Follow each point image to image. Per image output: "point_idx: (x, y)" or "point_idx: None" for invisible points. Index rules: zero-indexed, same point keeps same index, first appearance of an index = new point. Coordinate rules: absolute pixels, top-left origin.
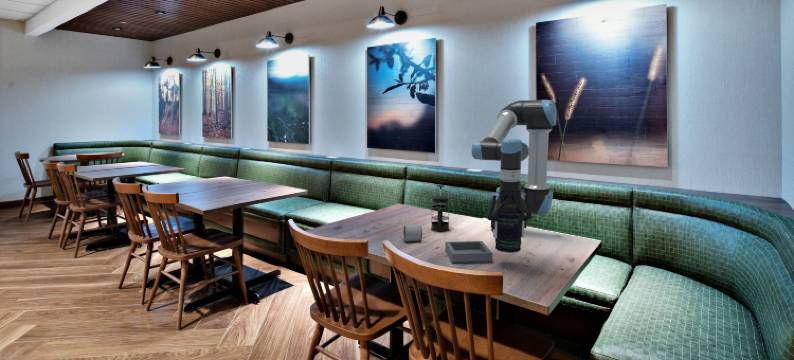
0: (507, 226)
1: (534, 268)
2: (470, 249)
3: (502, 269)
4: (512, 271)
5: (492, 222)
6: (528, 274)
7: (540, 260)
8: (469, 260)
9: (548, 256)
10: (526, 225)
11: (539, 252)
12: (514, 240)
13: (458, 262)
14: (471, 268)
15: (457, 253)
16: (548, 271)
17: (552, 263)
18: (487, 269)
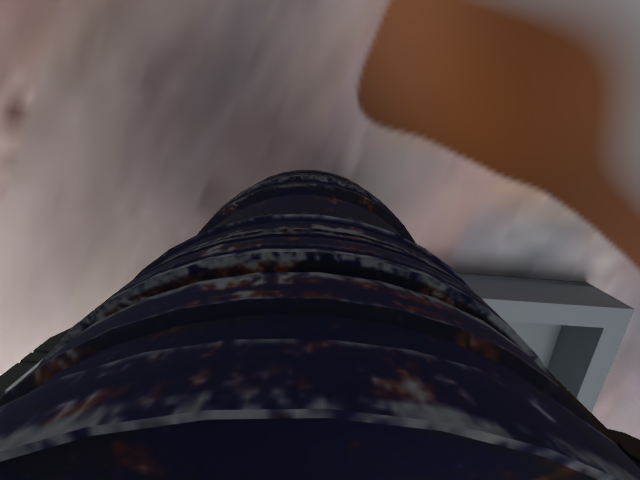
0: (412, 245)
1: (177, 149)
2: None
3: (365, 162)
4: (322, 123)
5: (600, 429)
6: (247, 59)
7: (102, 262)
8: (506, 282)
9: (39, 311)
10: (31, 354)
11: None
12: (290, 183)
13: (559, 282)
14: (524, 203)
15: (601, 311)
16: (108, 88)
17: (46, 209)
18: (447, 175)
